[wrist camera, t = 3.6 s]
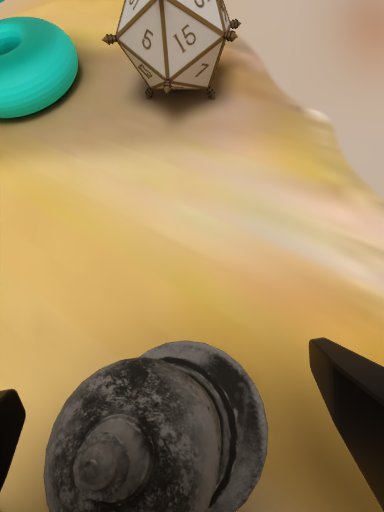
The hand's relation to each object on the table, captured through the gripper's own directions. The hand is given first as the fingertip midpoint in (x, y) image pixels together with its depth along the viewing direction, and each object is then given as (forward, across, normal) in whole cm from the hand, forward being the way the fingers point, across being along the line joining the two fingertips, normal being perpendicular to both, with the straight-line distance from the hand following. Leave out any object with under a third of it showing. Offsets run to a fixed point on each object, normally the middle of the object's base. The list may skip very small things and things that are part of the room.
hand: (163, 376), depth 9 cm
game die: (+20, -3, -11) cm, 23 cm away
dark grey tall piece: (+4, 0, +6) cm, 7 cm away
